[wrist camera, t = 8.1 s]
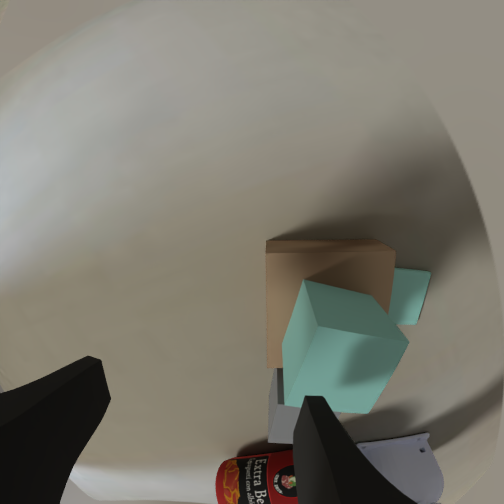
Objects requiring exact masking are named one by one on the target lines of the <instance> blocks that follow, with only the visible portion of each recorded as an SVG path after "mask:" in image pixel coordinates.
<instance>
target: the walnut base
mask: <svg viewBox="0 0 504 504" xmlns="http://www.w3.org/2000/svg"><path fill="white" fill-rule="evenodd" d="M395 260H396V251H395V250H393V249H392V248H390V247H388V246H387V245H385V244H383V243H381V242H380V241H378V240H376V239H350V240H274V241H266V305H267V368H283V357H282V342H283V339H284V336H285V333H286V331H287V328H288V325H289V322H290V319H291V316H292V313H293V310H294V307H295V304H296V300H297V297H298V294H299V291H300V288H301V285H302V282H303V279H304V280H308V281H312V282H317V283H321V284H325V285H329V286H333V287H338V288H342V289H346V290H350V291H355V292H359V293H363V294H367V295H372V296H373V298H374V299H375V300H376V301H377V302H378V304H379V305H380V306H381V307H382V308H383V310H384V311H385V312H386V313H387V315H388V313H389V307H390V300H391V294H392V286H393V278H394V270H395Z"/></svg>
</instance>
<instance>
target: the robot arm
mask: <svg viewBox="0 0 504 504" xmlns="http://www.w3.org/2000/svg"><path fill="white" fill-rule="evenodd" d="M110 400H111V397H110V393H109V390H108V386H107V382H106V378H105V374H104V370H103V366H102V361H101V360H100V359H97V358H94V357H91V356H86V357H84V358H82V359H80V360H77V361H75V362H73V363H71V364H69V365H67V366H65V367H63V368H61V369H59V370H57V371H55V372H53V373H51V374H49V375H47V376H45V377H43V378H40V379H38V380H36V381H33V382H31V383H29V384H26V385H24V386H21V387H19V388H16V389H13V390H10V391H7V392H3V393H0V504H60V500H61V497H62V494H63V491H64V488H65V485H66V483H67V480H68V478H69V475H70V473H71V471H72V468H73V466H74V464H75V462H76V461H77V459H78V457H79V455H80V454H81V452H82V451H83V449H84V447H85V446H86V444H87V443H88V441H89V440H90V438H91V436H92V435H93V433H94V432H95V430H96V428H97V427H98V425H99V424H100V422H101V420H102V418H103V416H104V414H105V412H106V410H107V407H108V405H109V403H110ZM429 436H430V435H429V433H423V434H419V435H413V436H408V437H402V438H396V439H390V440H383V441H375V442H366V443H358V444H355V443H354V442H353V440H352V439H351V437H350V436H349V435H348V433H347V432H346V431H345V429H344V428H343V426H342V425H341V423H340V422H339V420H338V419H337V417H336V416H335V414H334V412H333V411H332V409H331V408H330V406H329V404H328V403H327V401H326V399H325V398H324V397H323V396H309V395H305V397H304V400H303V403H302V407H301V410H300V413H299V416H298V419H297V422H296V425H295V428H294V431H293V463H294V472H295V481H296V489H297V498H298V504H441V503H436V502H437V501H438V500H439V498H440V497H441V495H442V492H443V488H444V479H443V474H442V472H441V469H440V467H439V465H438V463H437V461H436V459H435V456H434V454H433V452H432V450H431V448H430V446H429V444H428V442H427V439H428V438H429Z"/></svg>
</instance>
